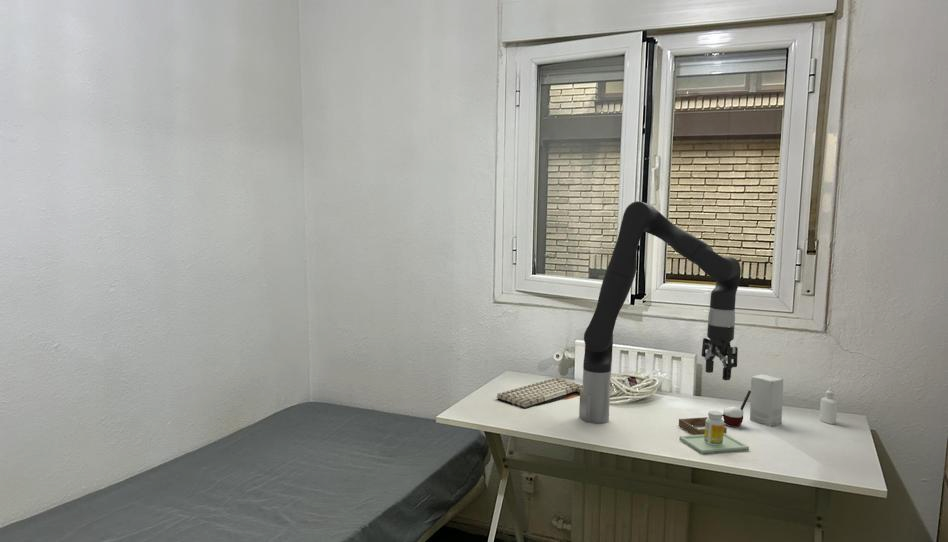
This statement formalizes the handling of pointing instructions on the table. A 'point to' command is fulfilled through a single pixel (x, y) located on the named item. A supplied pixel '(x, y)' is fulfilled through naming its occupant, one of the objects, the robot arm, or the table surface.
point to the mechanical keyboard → (541, 393)
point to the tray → (703, 448)
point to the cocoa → (735, 413)
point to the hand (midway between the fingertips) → (717, 376)
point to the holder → (689, 422)
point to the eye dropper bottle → (828, 408)
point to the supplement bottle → (714, 429)
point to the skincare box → (766, 399)
